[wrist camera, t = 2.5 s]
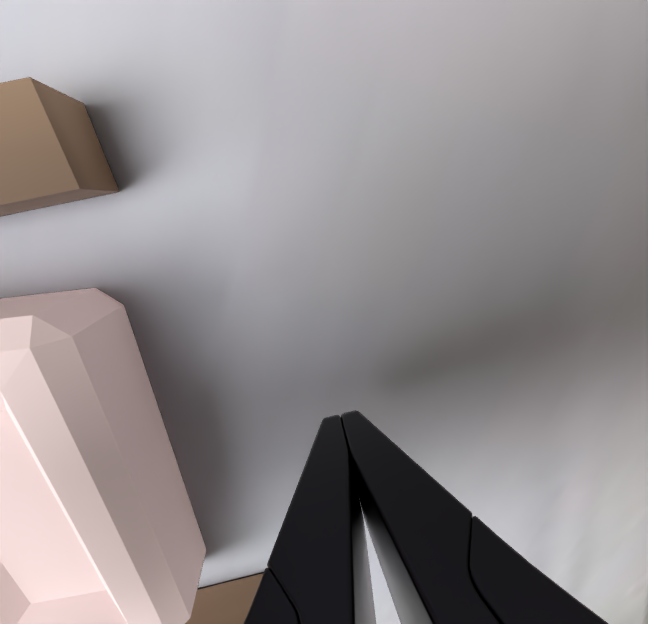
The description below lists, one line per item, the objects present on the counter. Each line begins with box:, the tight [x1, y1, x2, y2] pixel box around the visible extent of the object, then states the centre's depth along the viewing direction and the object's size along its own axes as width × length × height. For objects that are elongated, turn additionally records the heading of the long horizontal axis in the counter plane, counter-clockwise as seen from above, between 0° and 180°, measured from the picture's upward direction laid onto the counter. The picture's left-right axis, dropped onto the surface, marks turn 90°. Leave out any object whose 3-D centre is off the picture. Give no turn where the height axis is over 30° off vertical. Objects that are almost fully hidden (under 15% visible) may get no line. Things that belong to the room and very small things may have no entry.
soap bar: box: [0, 288, 206, 624], centre depth 7 cm, size 5×9×2 cm, turn 5°
